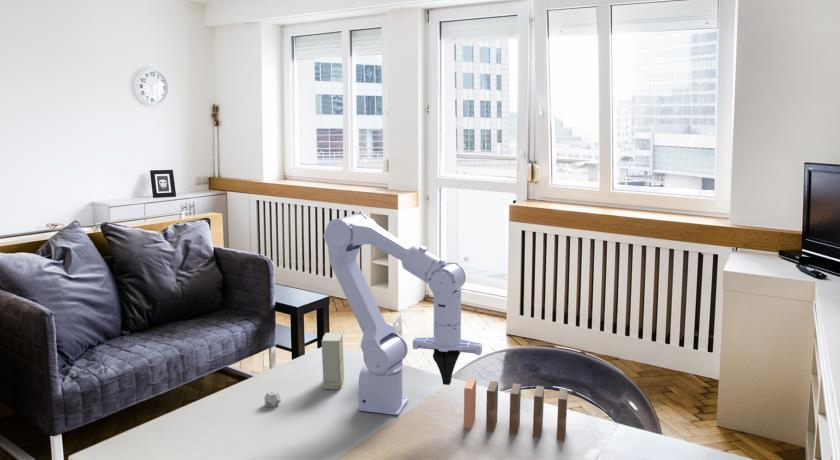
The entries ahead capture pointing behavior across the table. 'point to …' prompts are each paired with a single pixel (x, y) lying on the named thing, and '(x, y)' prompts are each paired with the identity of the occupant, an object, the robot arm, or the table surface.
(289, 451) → the table surface
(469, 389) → the head domino
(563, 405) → the domino
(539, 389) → the domino
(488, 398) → the domino
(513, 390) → the domino
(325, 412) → the table surface
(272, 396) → the game die
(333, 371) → the skincare box
